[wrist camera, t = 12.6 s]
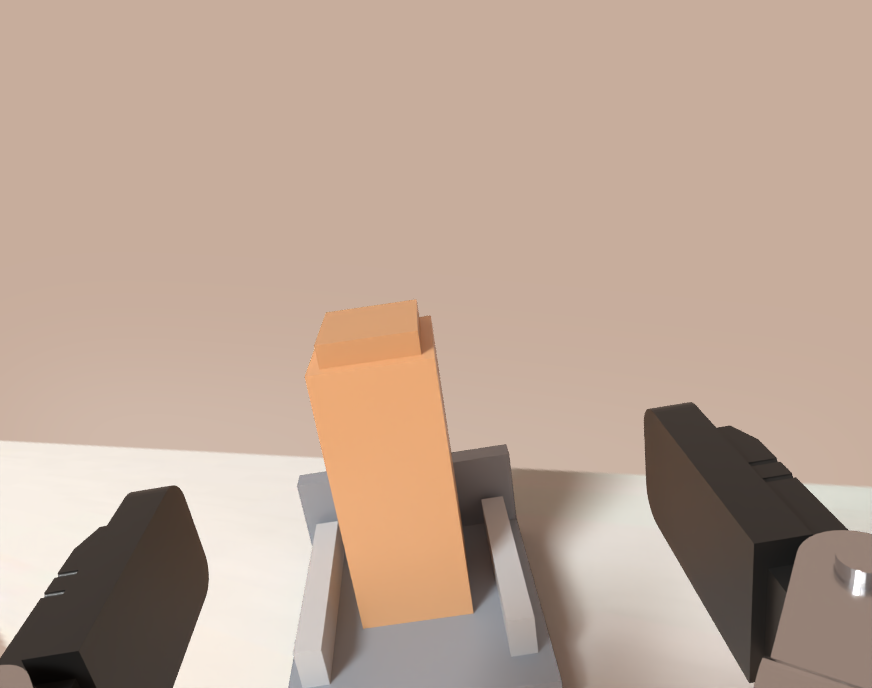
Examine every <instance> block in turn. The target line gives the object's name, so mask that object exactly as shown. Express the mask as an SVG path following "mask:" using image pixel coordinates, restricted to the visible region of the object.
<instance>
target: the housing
mask: <svg viewBox="0 0 872 688" xmlns="http://www.w3.org/2000/svg"><path fill="white" fill-rule="evenodd" d="M451 454H452V461H453V468H454V474H455V481H456V488H457V494H458V501H459V508H460V514H461V521H462V527H463V534H464V541H465V549H466V557H467V565H468V573H469V581H470V589H471V597H472V605H473V613H474V614H466V615H459V616H452V617H445V618H437V619H430V620H423V621H416V622H409V623H401V624H394V625H387V626H380V627H373V628H365V629H363V626H362V622H361V618H360V613H359V609H358V605H357V601H356V596H355V592H354V588H353V583H352V579H351V575H350V570H349V566H348V562H347V557H346V553H345V549H344V544H343V540H342V536H341V531H340V527H339V523H338V518H337V514H336V510H335V505H334V501H333V497H332V492H331V488H330V484H329V479H328V475H327V471H326V472H319V473H313V474H306V475H300V476H299V481H298V485H297V487H298V491H299V495H300V499H301V503H302V507H303V511H304V515H305V519H306V523H307V527H308V531H309V535H310V539H311V543H312V552H311V557H310V563H309V568H308V574H307V579H306V585H305V590H304V596H303V601H302V607H301V613H300V618H299V624H298V629H297V635H296V640H295V646H294V651H293V656H294V659H293V664H292V670H291V675H290V681H289V687H288V688H562V680H561V676H560V672H559V669H558V665H557V662H556V658H555V655H554V651H553V647H552V644H551V640H550V637H549V633H548V630H547V626H546V622H545V619H544V615H543V612H542V608H541V605H540V601H539V597H538V594H537V590H536V587H535V583H534V580H533V576H532V572H531V569H530V565H529V562H528V558H527V554H526V551H525V547H524V544H523V540H522V537H521V533H520V529H519V526H518V522H517V519H516V510H515V502H514V493H513V484H512V475H511V467H510V458H509V452H508V449H507V446H506V444H505V445H498V446H492V447H485V448H479V449H472V450H465V451H459V452H452V453H451Z"/></svg>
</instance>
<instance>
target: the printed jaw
mask: <svg viewBox="0 0 872 688" xmlns="http://www.w3.org/2000/svg"><path fill="white" fill-rule="evenodd" d="M314 347H315V349H314V352H313V355H312V358H311V360H310V363H309V366H308V369H307V372H306V374H305V380H306V384H307V389H308V393H309V397H310V402H311V406H312V410H313V415H314V419H315V423H316V428H317V432H318V436H319V440H320V445H321V449H322V453H323V458H324V462H325V466H326V471H327V475H328V479H329V484H330V488H331V492H332V497H333V501H334V505H335V510H336V514H337V518H338V523H339V527H340V531H341V536H342V540H343V544H344V549H345V553H346V557H347V562H348V566H349V570H350V575H351V579H352V583H353V588H354V592H355V596H356V601H357V605H358V609H359V613H360V618H361V622H362V626H363V629H365V628H373V627H380V626H387V625H394V624H401V623H409V622H416V621H423V620H430V619H437V618H445V617H452V616H459V615H466V614H474V613H473V605H472V597H471V589H470V581H469V573H468V565H467V557H466V549H465V541H464V534H463V527H462V521H461V514H460V508H459V501H458V494H457V488H456V481H455V474H454V468H453V461H452V454H451V448H450V442H449V434H448V428H447V421H446V414H445V408H444V401H443V395H442V388H441V381H440V375H439V368H438V361H437V354H436V348H435V342H434V335H433V328H432V322H431V316H424V317H419V313H418V306H417V301H416V300H409V301H403V302H395V303H388V304H381V305H374V306H367V307H361V308H354V309H347V310H340V311H334V312H326V314H325V317H324V320H323V322H322V325H321V328H320V331H319V333H318V336H317V339H316V342H315V345H314Z"/></svg>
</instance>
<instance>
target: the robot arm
mask: <svg viewBox="0 0 872 688" xmlns="http://www.w3.org/2000/svg"><path fill="white" fill-rule="evenodd" d="M644 437H645V460H646V486H647V494H648V500H649V504H650V508H651V511H652V514H653V517H654V519H655V521H656V523H657V525H658V527H659V529H660V530H661V532H662V534H663V536H664V537H665V539H666V541H667V542H668V544H669V546H670V548H671V549H672V551H673V553H674V555H675V556H676V558H677V560H678V561H679V563H680V565H681V567H682V568H683V570H684V572H685V573H686V575H687V577H688V579H689V580H690V582H691V584H692V585H693V587H694V589H695V591H696V592H697V594H698V596H699V597H700V599H701V601H702V603H703V604H704V606H705V608H706V610H707V611H708V613H709V615H710V616H711V618H712V620H713V622H714V623H715V625H716V627H717V628H718V630H719V632H720V634H721V635H722V637H723V639H724V640H725V642H726V644H727V646H728V647H729V649H730V651H731V653H732V654H733V656H734V658H735V659H736V661H737V663H738V665H739V666H740V668H741V670H742V671H743V673H744V675H745V677H746V678H747V680H748V682H749V683H753V682H755V684H754V688H872V534H869V533H864V532H858V531H849V530H848V529H847V528H846V527H845V526H844V525H843V524H842V523H841V522H840V521H839V520H838V519H837V518H836V517H835V516H834V515H833V514H832V513H831V512H830V511H829V510H828V509H827V508H826V507H825V506H824V505H823V504H822V503H821V502H820V501H819V500H818V499H817V498H816V497H815V496H814V495H813V494H812V493H811V492H810V491H809V490H808V489H807V488H806V487H805V486H804V485H803V484H802V483H801V482H800V481H799V480H798V479H797V478H793V476H792V473H791V472H790V471H789V470H788V469H787V468H786V467H785V466H784V465H783V464H782V463H781V462H777V458H776V457H775V456H774V455H773V454H772V453H771V452H770V451H769V450H768V449H767V448H766V447H765V446H764V445H763V444H762V443H761V442H760V441H759V440H758V439H756V438H754V437H752V436H750V435H748V434H746V433H744V432H742V431H740V430H738V429H736V428H734V427H732V426H725V427H719V428H716V427H715V426H714V425H713V424H712V423H711V421H710V420H709V419H708V418H707V417H706V416H705V415H704V414H703V413H702V412H701V410H700V409H699V408H698V407H697V406H696V405H695V404H693V403H692V402H690V403H682V404H677V405H670V406H664V407H658V408H652V409H647V410H646V412H645V416H644ZM208 581H209V573H208V564H207V559H206V556H205V553H204V550H203V547H202V544H201V542H200V539H199V536H198V533H197V530H196V528H195V525H194V522H193V519H192V516H191V513H190V511H189V508H188V505H187V502H186V499H185V497H184V494H183V493H182V491H181V490H180V488H179V487H177V486H167V487H161V488H155V489H148V490H142V491H136V492H131V493H129V494H128V495H127V496H126V497H125V498H124V500H123V502H122V503H121V505H120V506H119V508H118V509H117V511H116V512H115V514H114V516H113V517H112V519H111V520H110V522H109V523H108V525H107V526H103V527H99V528H98V529H97V530H96V531H95V532H94V533H93V534H91V535H90V536H89V537H88V538H87V539H86V540H84V541H83V542H82V543H81V544H80V545H79V546H77V547H76V548H75V549H74V550H73V552H72V553H71V555H70V556H69V557H68V559H67V560H66V562H65V563H64V565H63V566H62V568H61V569H60V571H59V572H58V578H54V580H53V581H52V583H51V584H50V586H49V587H48V588H47V590H46V591H45V593H44V594H45V597H44V598H41V599H40V600H39V602H38V603H37V605H36V606H35V608H34V609H33V611H32V612H31V614H30V615H29V616H28V618H27V619H26V621H25V622H24V624H23V625H22V627H21V628H20V630H19V631H18V633H17V634H16V636H15V637H14V639H13V640H12V642H11V643H10V644H9V646H8V647H7V649H6V650H5V652H4V653H3V655H2V656H1V658H0V688H173V686H174V683H175V680H176V677H177V675H178V672H179V669H180V666H181V664H182V661H183V658H184V655H185V653H186V650H187V647H188V644H189V642H190V639H191V636H192V633H193V631H194V628H195V625H196V622H197V620H198V617H199V614H200V611H201V609H202V606H203V603H204V600H205V598H206V594H207V590H208Z"/></svg>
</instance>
